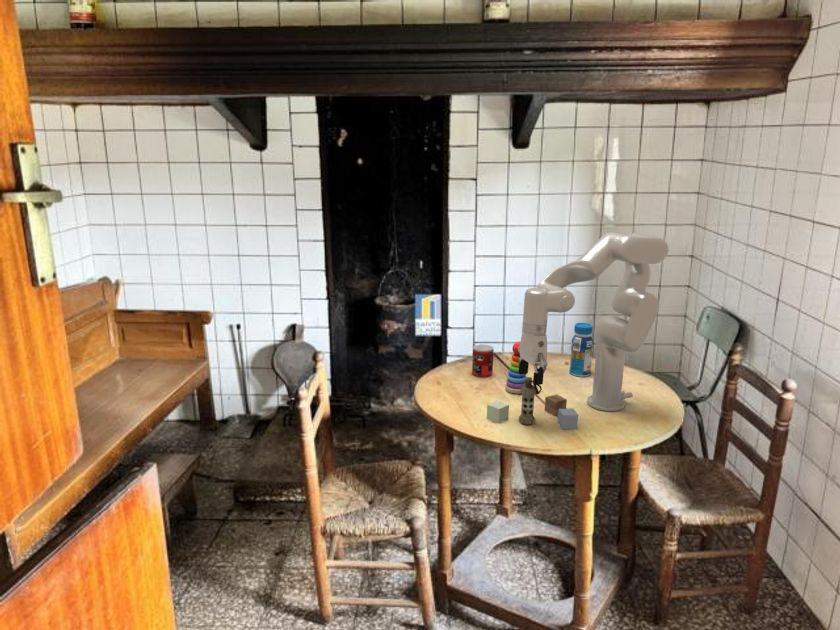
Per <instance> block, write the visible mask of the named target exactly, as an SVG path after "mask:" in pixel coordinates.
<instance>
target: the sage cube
mask: <svg viewBox="0 0 840 630" xmlns="http://www.w3.org/2000/svg"><path fill="white" fill-rule="evenodd" d="M486 406H487V407H486V419H488V420H489V421H493V422H495V423H497V424H500V423H502V422H504V421H506V420H509V409H510V405H509V404H508V403H505V402H503V401H500V400H495V401H493V402H490V403H488V404H487V405H486Z"/></svg>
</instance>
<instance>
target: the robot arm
mask: <svg viewBox="0 0 840 630" xmlns="http://www.w3.org/2000/svg"><path fill="white" fill-rule="evenodd" d="M668 253H669V245H668V242H666V240H665V239H663V238H661V237H657V236H654V235H653V236H652V235H647V234H644V233H637V232H629V233H626V234H624V233H619V232H614V231H611V232H610V231H609V232H607V233H605V234H603V235H602V236H601V237H599V239H598V240H597V241H596V242H595V243H593V244H592V246H590V247H589V248H587V250H586V251H585V252H584V253H583V254H582V255H581V256H580V257H579V258H577V259H576V260H574V261H570V262H569V263H567V264H564V265H562V266H561V267H558V268H557V269H554V270H553V271H551V272H549V274H548V275H547V276H546V277H545V278H544V279H542V280H541V281H540V283H539V284H538V285H537V286H536V287H531V288H528V289H526V290H525V293H524V300H523V301H524V302H523V315H522V327H521V332H522V333H521V337H520V342H521V343H520V346H518V352H519V353H518V355H519V372H518V373H519V374H526V375H528V373H529V365H531V366H533V369H534V372H533V378H532V380H533V382H532V385H533V386H534V385H536V386H537V385H540V386H541V385H543V383H544V373H545V372H546V370H547V367H548V362H547V359H548V336H547V329H548V328H547V327H548V318H549V317H548V316H549V315H548V314H549V313H559V314H560V313H561V314H562V313H566V312H569V311H570V310H572V308H574V306H575V302H576V298H575V296H574V294H573V292H572V291H570V290H569V289H566V287H568V286H570V285H574V284H576V283H584V282H588V281H593V280H596V279H598V278H599V277H600V276H601V275H602V274H603V273H604V272H605V271H606V270H607V269H608V268H609V267H610V266H611V265H612V264H613V263H614V262H615V261H620V262H623V263H624V264H625V266H624V273H623V275H622V278H621V280H620V281H619V284H618V286H617V289H616V291H615V293H614V296H613V298H612V302H611V307H612V310H613V311H615V312H617V314H620V315H622V316H626V317H627V318H628V317H629V320H626V319H624V318H621V317H620V316H619V317H618V316H615V315H610V314H609V315H604V316H602V317H601V318H599V319H598V320H597V322H596V324H595V327H594V328H595V329H594V337H595V338H594V339H595V344H596V345H595V360H594V361H595V362H594V371H593V375H594V376H593V384H592V394H591V395H590V396H588V397H587V399H586V400H587V401H586V403H587V405H588V406H589V407H591V408H593V409H594V410H598V411H604V412H618V411H622V410H623V409H624V408H625V406H626V403H625V401H624V400H626V399H629V398H630V399H631V398H633V397H634V395H633V392H631V391H629V392H626V391H625V390H622V389H623V380H624V368H625V361H626V359H625V358H626V355H625V352H627V353H634V352H637V351H639V350H640V349H641V348H642V347H643V345H644V344H645V342H646V340H647V337H648V336H649V334H650V331H651V330H652V327H653V325H654V322H655V321H656V319H657V316H658V313H659V308H660V304H659V300H658V298H657V297H656V296H655V295H654V294H653V293H651V292H648V291H646V290H647V288H648V285H649V284H650V283H649V282H650V279H651V277H652V276H651V274H652V273H651V267H650V265H656V264H660V263H662V262H663V261H665V260H666V258H667V256H668Z"/></svg>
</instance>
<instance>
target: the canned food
mask: <svg viewBox="0 0 840 630" xmlns="http://www.w3.org/2000/svg"><path fill="white" fill-rule="evenodd" d="M471 363H472V365H471V367H472V368H471V369H472V371H471V373H472V375H473V376H475V377H478V378H488V377H491V376H492V374H493V373H494V372H493V371H494V370H493V368H494V346H492V345H490V344H476V345H474V346H473V347H472V362H471Z"/></svg>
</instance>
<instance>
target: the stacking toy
mask: <svg viewBox="0 0 840 630" xmlns="http://www.w3.org/2000/svg"><path fill="white" fill-rule="evenodd" d="M520 343H521V341H516V342H514V343H513V345H512V349H511V350H512V352H513V354H511V360H510V365H509V370H508V372H507V373H508V375H507V377H506V378H507V379H506V381H505V382H506V384H505V387H504V388H505V390H506V392H509V393H511V394H516V395H519V394H520V395H522V392H521V391H520V390H521V386H522V385H526V384H525V380H526V377H527V374H519V373H518V372H519V355H518V353H519V352H518V346H520Z"/></svg>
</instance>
